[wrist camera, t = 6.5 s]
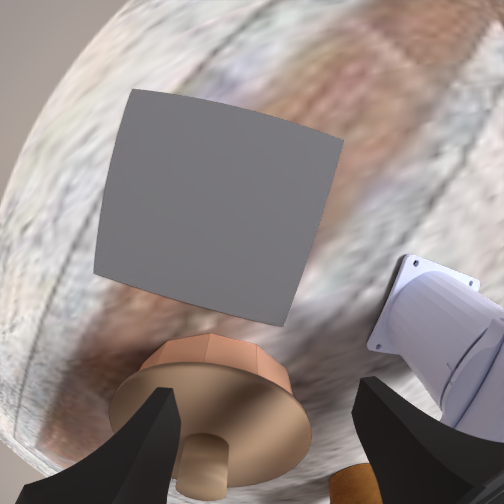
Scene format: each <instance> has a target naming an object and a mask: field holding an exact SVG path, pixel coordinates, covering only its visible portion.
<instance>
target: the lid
mask: <svg viewBox="0 0 504 504" xmlns="http://www.w3.org/2000/svg"><path fill="white" fill-rule="evenodd" d="M157 387H166V388H173V391H174V395H175V399H176V403H177V407H178V411H179V415H180V419H181V431H180V440H179V446H178V451H177V455H176V459H175V463H174V467H173V471H172V476H171V478H173V479H176V480H177V483H176V490H177V491H178V492H179V493H180V494H182V495H184V496H186V497H189V498H192V499H196V500H201V501H217V500H221V499H223V498H225V497H226V492H227V488H229V487H243V486H250V485H255V484H259V483H263V482H266V481H269V480H272V479H274V478H277V477H279V476H281V475H283V474H285V473H286V472H288V471H289V470H291V469H293V468H294V467H295V466H296V465H297V464H298V463H299V462H300V461H301V460H302V459H303V458H304V457H305V455H306V453H307V452H308V450H309V447H310V444H311V438H312V434H311V427H310V423H309V419H308V416H307V413H306V411H305V410H304V408H303V406H302V405H301V403H300V402H299V401H298V400H297V399H296V398H295V397H294V396H293V395H292V394H290V393H289V392H288V391H287V390H285V389H284V388H282V387H281V386H279V385H278V384H276V383H274V382H273V381H270V380H268V379H266V378H264V377H262V376H260V375H257V374H254V373H251V372H248V371H246V370H242V369H238V368H234V367H230V366H225V365H219V364H214V363H203V362H173V363H164V364H159V365H154V366H151V367H148V368H145V369H142V370H140V371H138V372H136V373H134V374H132V375H130V376H129V377H128V378H127V379H125V380H124V381H123V382H122V383H121V385H120V386H119V387H118V389H117V391H116V392H115V394H114V396H113V398H112V400H111V402H110V407H109V419H110V424H111V427H112V429H113V432H114V433H116V432H117V431H118V430H119V429H120V428H122V427H123V426H124V425H125V423H126V422H127V421H128V420H129V419H130V418H131V417H132V416H133V415H134V414H135V413H136V411H137V410H138V409H139V408H140V407H141V406H142V404H143V403H144V402H145V401H146V400H147V398H148V397H149V396H150V395H151V394H152V392H153V391H154V390H155V389H156V388H157Z"/></svg>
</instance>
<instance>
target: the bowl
mask: <svg viewBox="0 0 504 504" xmlns="http://www.w3.org/2000/svg"><path fill="white" fill-rule="evenodd" d="M173 362H203V363H214V364H219V365H225V366H230V367H234V368H238V369H242V370H246V371H248V372H251V373H254V374H257V375H260V376H262V377H264V378H266V379H268V380H270V381H273V382H274V383H276V384H278V385H279V386H281V387H282V388H284V389H285V390H287V391H288V392H289V393H290V394H292V395H293V392H292V388H291V384H290V380H289V376H288V372H287V369H286V368H285V367H283V366H282V365H281V364H280V363H278V362H277V361H276V360H275V359H273V358H272V357H271V356H270V355H269V354H267V353H266V352H265V351H264V350H262V349H261V348H260V347H259V346H258V345H256V344H252V343H248V342H244V341H240V340H235V339H231V338H227V337H223V336H219V335H215V334H212V333H208V334H203V335H198V336H192V337H187V338H181V339H175V340H169V341H167V342H165V343H164V344H163V345H162V346H161V347H160V348H159V349H158V350H157V351H156V352H154V353H153V354H152V355H151V356H150V357H149V358H148V359H147V360H146V361H145V362H144V363H143V364H142V366H141V368H140V370H142V369H145V368H148V367H151V366H154V365H159V364H164V363H173ZM140 370H139V371H140Z"/></svg>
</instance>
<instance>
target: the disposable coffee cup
mask: <svg viewBox="0 0 504 504" xmlns="http://www.w3.org/2000/svg"><path fill="white" fill-rule="evenodd" d="M329 489H330V504H383V503H382V499H381V495H380V491H379V487H378V483H377V480H376V477H375V474H374V472H373V469H372V467H371V465H370V464H369V463H365V464H359V465H354V466H351V467H348V468H346V469H344V470H341V471H339V472H338V473H336V474H335V475H333V476H332V477H331V478H330V480H329Z"/></svg>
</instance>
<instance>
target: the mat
mask: <svg viewBox="0 0 504 504" xmlns="http://www.w3.org/2000/svg"><path fill="white" fill-rule="evenodd" d="M343 142H344V140H341V139H339V138H336V137H334V136H331V135H328V134H325V133H323V132H320V131H317V130H314V129H311V128H308V127H305V126H302V125H299V124H296V123H293V122H290V121H287V120H283V119H280V118H277V117H273V116H270V115H266V114H263V113H259V112H255V111H251V110H248V109H244V108H240V107H235V106H231V105H227V104H223V103H218V102H213V101H208V100H204V99H198V98H193V97H188V96H182V95H176V94H169V93H163V92H155V91H148V90H139V89H132V91H131V94H130V97H129V100H128V103H127V106H126V109H125V112H124V115H123V119H122V122H121V125H120V129H119V132H118V136H117V140H116V144H115V147H114V151H113V155H112V160H111V164H110V168H109V173H108V178H107V182H106V187H105V193H104V198H103V204H102V210H101V216H100V222H99V230H98V237H97V245H96V255H95V265H94V273H95V274H98V275H101V276H104V277H107V278H109V279H112V280H115V281H118V282H121V283H124V284H127V285H130V286H133V287H137V288H140V289H143V290H146V291H149V292H152V293H156V294H159V295H162V296H166V297H169V298H172V299H176V300H179V301H182V302H186V303H189V304H193V305H197V306H200V307H204V308H207V309H211V310H215V311H219V312H222V313H226V314H230V315H234V316H238V317H242V318H246V319H250V320H254V321H258V322H262V323H267V324H271V325H275V326H280V327H283V326H284V323H285V320H286V318H287V315H288V312H289V310H290V307H291V304H292V301H293V299H294V296H295V293H296V290H297V288H298V285H299V282H300V279H301V276H302V274H303V271H304V268H305V265H306V262H307V259H308V256H309V253H310V250H311V247H312V244H313V241H314V238H315V235H316V232H317V229H318V226H319V223H320V220H321V216H322V213H323V210H324V207H325V204H326V200H327V197H328V194H329V191H330V187H331V184H332V181H333V177H334V174H335V170H336V167H337V163H338V160H339V156H340V153H341V149H342V145H343Z"/></svg>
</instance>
